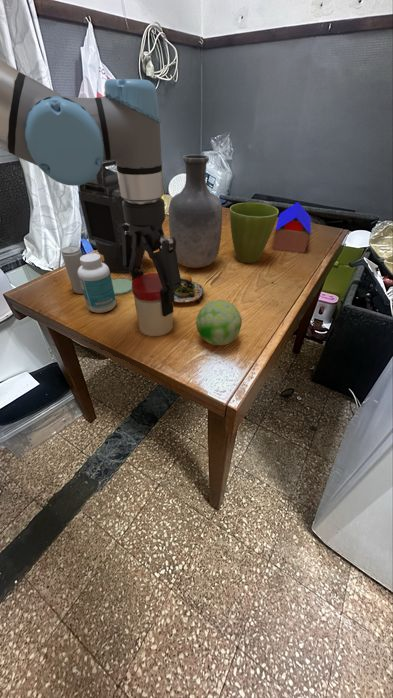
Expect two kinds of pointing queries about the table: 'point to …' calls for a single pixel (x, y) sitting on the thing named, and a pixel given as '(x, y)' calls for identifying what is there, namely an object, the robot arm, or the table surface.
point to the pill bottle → (96, 284)
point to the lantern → (104, 216)
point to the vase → (195, 217)
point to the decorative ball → (218, 322)
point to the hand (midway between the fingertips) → (154, 305)
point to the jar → (152, 318)
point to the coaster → (121, 286)
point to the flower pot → (251, 229)
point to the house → (293, 229)
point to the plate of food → (188, 290)
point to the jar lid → (147, 287)
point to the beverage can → (73, 266)
